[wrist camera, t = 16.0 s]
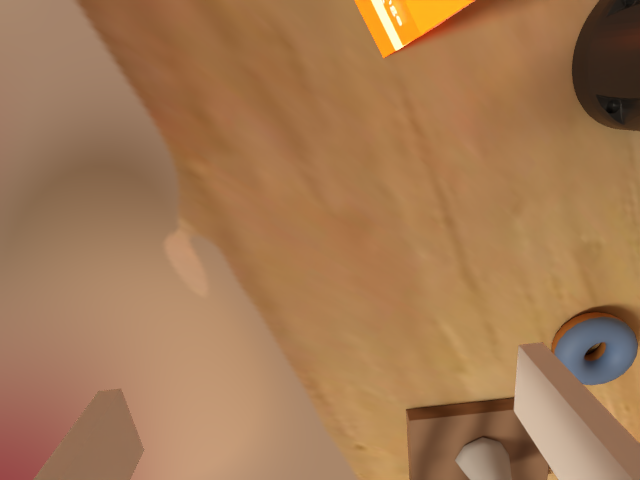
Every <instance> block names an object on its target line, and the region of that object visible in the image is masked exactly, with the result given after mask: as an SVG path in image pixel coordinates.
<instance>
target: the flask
mask: <svg viewBox="0 0 640 480" xmlns="http://www.w3.org/2000/svg"><path fill="white" fill-rule="evenodd" d="M455 461H456V463H457V464H458V465H459V467H460V468H461V469H462V471H463V472H464V473H465V474H466V476H467V477H468V478H469V479H470V480H512V477H511V468H510V460H509V454H508V453H507V451H506V450H505V448H504V447H503V445H502V444H501V442H498V441H495V440H491V439H487V438H483V437H482V438H480V439H478V440H476V441H473V442H471V443H469V444H467V445H465V446H464V447H463V448H462V450H461V451H460V453H459V455H458V456H457V458H456V459H455Z"/></svg>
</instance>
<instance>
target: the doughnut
mask: <svg viewBox="0 0 640 480" xmlns="http://www.w3.org/2000/svg"><path fill="white" fill-rule="evenodd" d="M601 342H602V343H601ZM598 343H601V345H600V346H599V347H598V349H597V350H595V351H594V352H592V353H590V354H588V355H585V353H586V352H587V351H588V350H589V348H591V347H592V346H594V345H595V344H598ZM637 348H638V343H637V339H636V336H635V333H634V332H633V331H632V330H631V328H630V327H629V326H628V325H627V324H626V323H625V322H624V321H623V320H621V319H619V318H617V317H615V316H613V315H611V314H607V313H599V312H593V313H586V314H582V315H580V316H578V317H575V318H573V319H571V320H570V321H568V322H567V323H566V324H564V325H563V326H562V327H561V329H560V330H559V331H558V332H557V333H556V335H555V337H554V340H553V342H552V350H551V352H552V353H553V354H554V355H555V356H556V357H557V358H558V359H559V360H560V361H561V362H562V363H563V364H564V365H565V366H566V367H567V368H568V370H569V371H570V372H571V373H572V374H573V375H574V376H575V377H576V378H577V379H578V380H579V381H580V382H581V383H582V384H585V385H597V384H603V383H607V382H609V381H612V380H614V379H616V378H618V377H619V376H621V375H622V374H624V373H625V372H626V371H627V370H628V368H629V367H630V366H631V365H632V363H633V361H634V359H635V358H636V355H637Z"/></svg>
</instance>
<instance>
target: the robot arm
mask: <svg viewBox="0 0 640 480" xmlns="http://www.w3.org/2000/svg"><path fill="white" fill-rule="evenodd" d="M572 76H573V84H574V89H575V92H576V95H577V98H578V100H579V102H580V104H581V105H582V107H583V108H584V110H585V111H586V112H587V113H588V114H589V115H590V116H591V117H592V118H593V119H595V120H596V121H597V122H599V123H601V124H603V125H605V126H608V127H611V128H615V129H622V130H633V131H640V0H600V1H599V2H598V3H597V4H596V6H595V7H594V9H593V10H592V11H591V13H590V15H589V16H588V18H587V20H586V21H585V23H584V25H583V27H582V29H581V32H580V34H579V37H578V40H577V43H576V46H575V51H574V56H573V64H572ZM514 412H515V414H516V415H517V417H518V418H519V420H520V421H521V423H522V425H523V426H524V428H525V429H526V431H527V432H528V434H529V435H530V437H531V438H532V440H533V441H534V443H535V445H536V446H537V448H538V449H539V451H540V452H541V454H542V455H543V457H544V458H545V460H546V461H547V463H548V464H549V466H550V468H551V469H552V471H553V472H554V474H555V475H556V477H557V478H558V480H640V444H639V443H638V442H637V441H636V440H635V439H634V437H633V436H632V435H631V434H630V433H629V432H628V431H627V430H626V429H625V428H624V427H623V426H622V425H621V424H620V423H619V422H618V421H617V420H616V419H615V418H614V417H613V416H612V414H611V413H610V412H609V411H608V410H607V409H606V408H605V407H604V406H603V405H602V404H601V403H600V402H599V401H598V400H597V399H596V398H595V397H594V396H593V395H592V394H591V393H590V391H589V390H588V389H587V388H586V387H585V386H584V385H583V384H582V383H581V382H580V381H579V380H578V379H577V378H576V377H575V376H574V375H573V374H572V373H571V372H570V371H569V370H568V368H567V367H566V366H565V365H564V364H563V363H562V362H561V361H560V360H559V359H558V358H557V357H556V356H555V355H554V354H553V353H552V352H551V351H550V350H549V349H548V348H547V346H546V345H545V344H544V343H543V342H541V343H532V344H523V345H519V348H518V361H517V374H516V387H515V400H514ZM143 451H144V448H143V446H142V443H141V441H140V438H139V435H138V432H137V430H136V427H135V424H134V422H133V419H132V416H131V414H130V411H129V408H128V406H127V403H126V401H125V398H124V395H123V392H122V390H121V389H114V390H105V391H98V392H97V394H96V395H95V397H94V398H93V399H92V401H91V402H90V403H89V405H88V406H87V407H86V409H85V410H84V412H83V413H82V414H81V416H80V417H79V418H78V420H77V421H76V423H75V424H74V425H73V427H72V428H71V429H70V430H69V432H68V433H67V435H66V436H65V438H64V439H63V440H62V441H61V443H60V444H59V445H58V447H57V448H56V450H55V451H54V452H53V454H52V455H51V456H50V458H49V459H48V460H47V462H46V463H45V465H44V466H43V467H42V469H41V470H40V471H39V473H38V474H37V475H36V477H35V478H34V480H130V479H131V476H132V474H133V472H134V470H135V468H136V466H137V464H138V462H139V460H140V458H141V456H142V454H143Z"/></svg>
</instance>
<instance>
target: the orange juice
mask: <svg viewBox="0 0 640 480" xmlns="http://www.w3.org/2000/svg"><path fill="white" fill-rule="evenodd" d="M473 1H474V0H355V2H356V4H357V6H358V8H359V10H360V12H361V14H362V16H363V18H364V20H365V22H366V24H367V26H368V28H369V30H370V32H371V34H372V36H373V38H374V40H375V42H376V44H377V46H378V48H379V50H380V52H381V54H382V56H383V58H384V57H386V56H388V55H389V54H391V53H393V52H394V51H397V50H399V49H400V48H402V47H404V46H405V45H407V44H408V43H410V42H411V41H413V40H414V39H416V38H417V37H419V36H421V35H422V34H424V33H425V32H426V33H427V31H428V30H430V29H431V30H432V28H433V27H436V25H437V26H438V25H439V23H441V22H442V21H444V20H445V19H447V18H448V17H450V16H451V15H453V14H454V13H456V12H457V11H459V10H460V9H462V8H463V7H465V6H466V7H467V5H468V4H470V3H471V2H473ZM457 13H458V12H457Z"/></svg>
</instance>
